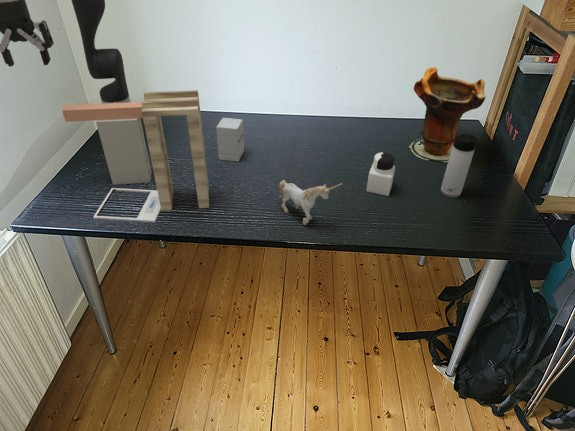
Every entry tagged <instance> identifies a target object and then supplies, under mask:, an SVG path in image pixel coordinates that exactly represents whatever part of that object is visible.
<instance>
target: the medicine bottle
mask: <svg viewBox="0 0 575 431" xmlns="http://www.w3.org/2000/svg"><path fill="white" fill-rule="evenodd" d="M394 164H395V156H393V155H392V154H391V153H389V152H386V151H385V152H384V151H383V152H382V151H381V152H378V153H376V154H375V155H374V157H373V162H372V165H371V168H370V169H369V173H368V179H367V183H366V190H365V191H366V192H367V193H370V194H371V193H373V194H376V195H381V196H386V197H388V196H389V197H390V192H391V190H392V186H393V181H394V176H395V171H396V166H395V165H394Z"/></svg>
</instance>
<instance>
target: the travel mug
mask: <svg viewBox="0 0 575 431" xmlns="http://www.w3.org/2000/svg"><path fill="white" fill-rule="evenodd" d="M477 144H478V138H477V137H476V136H474V135H471V134H465V133H464V134H463V133H462V134H460V135H455V140H454V142H453V147H452V150H451V154H450V157H449V161H448V162H447V165H446V168H445V172H444V175H443V179H442V183H441V186H440V193H441V194H442V195H444V196H445V197H448V198H451V199H452V198H453V199H455V198H458V197H460V196H461V194H462V191H463V188H464V186H465V182H466V180H467V179H466V178H467V176H468V172H469V170H470V169H469V168H470V166H471V163H472V159H473V156H474V153H475V150H476V147H477Z"/></svg>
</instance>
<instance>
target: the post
mask: <svg viewBox="0 0 575 431" xmlns="http://www.w3.org/2000/svg"><path fill="white" fill-rule="evenodd" d="M95 124H96V127H97V130H98V135H99V138H100V142H101V146H102V149H103V152H104V157H105V162H106V164H107V168H108V172H109V175H110V179H111V183H112V185H124V184H126V185H127V184H143V183H151V177H152V169H151V164H150V159H149V154H148V149H147V144H146V139H145V134H144V129H143V124H142V118H136V119H114V120H95Z"/></svg>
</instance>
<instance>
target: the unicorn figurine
mask: <svg viewBox="0 0 575 431" xmlns="http://www.w3.org/2000/svg"><path fill="white" fill-rule="evenodd" d="M342 185H343V182H342V183H339V184H336V185H334V186H331V187H326V186H327V184H326V183H325V184H324V185H320V186H319V185H318V186H313V187H309V188H307V189H304V190H303V189H301V188H300V187H298V186H297V185H296V183H292V182H291V183H287V182H286V180H285V179H283V180H281V181H280V182H279V184H278V188H279V193H280V195H279V196H278V199H282V203H281V208H282V210H283V212H284V213H285V214H288V213H290V211H289V209H288V207H287V205H286V202H287V201H288V200H289V199H291V200H292V202H293V204H294V209H295V210H299V209H300V207H301V208H302V210H303V212H304V215H305V217H303V218H302V225H304V226H306V225H307V224H309V222H310V220H311V221H312V220H313V217H312V215H311V214H310V213H311V209H312V208H313V207H314V206H315V204H316V199H317V198H318V197H319V196H320V197H321V198H322V199H323V200H327V199H329V194H330V191H332V190H335V189H337V188H338V187H340V186H342Z"/></svg>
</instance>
